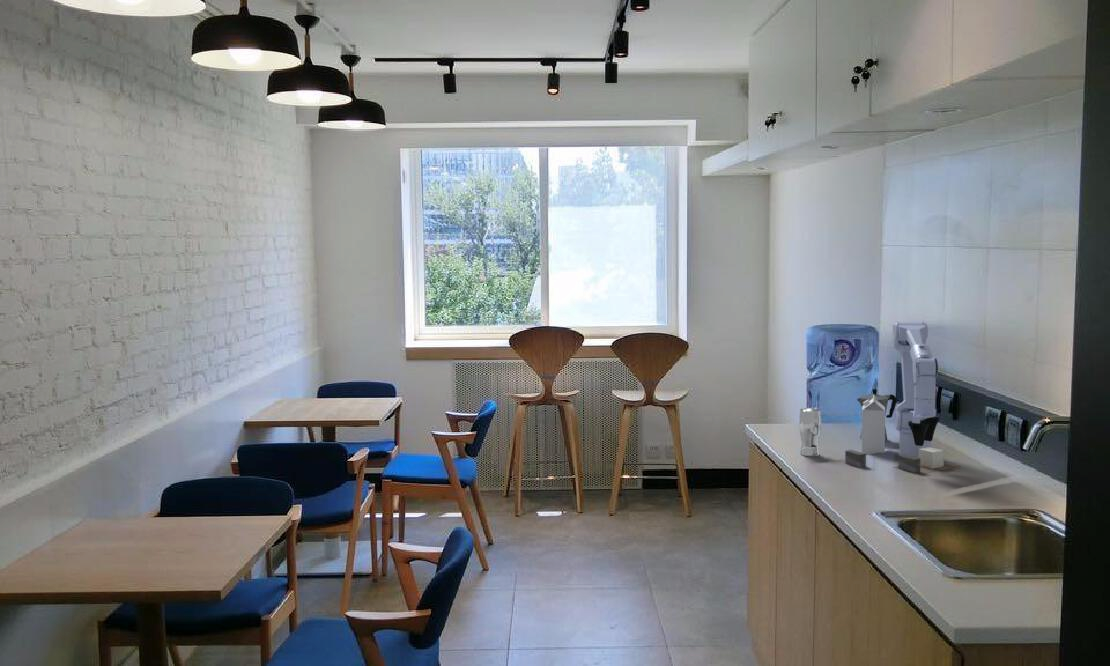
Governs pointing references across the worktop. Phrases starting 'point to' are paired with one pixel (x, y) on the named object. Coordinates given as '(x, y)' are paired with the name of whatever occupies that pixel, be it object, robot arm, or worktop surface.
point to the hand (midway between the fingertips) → (923, 443)
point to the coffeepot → (883, 401)
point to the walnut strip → (927, 470)
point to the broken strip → (855, 458)
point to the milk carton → (873, 427)
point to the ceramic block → (931, 457)
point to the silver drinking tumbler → (810, 431)
